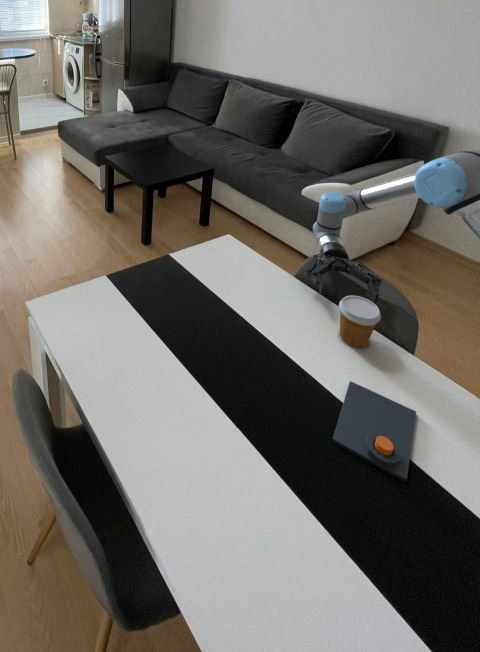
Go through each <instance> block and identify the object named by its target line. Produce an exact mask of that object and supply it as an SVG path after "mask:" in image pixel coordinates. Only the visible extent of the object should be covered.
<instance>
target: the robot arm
mask: <svg viewBox="0 0 480 652" xmlns="http://www.w3.org/2000/svg"><path fill="white" fill-rule="evenodd" d="M416 199H417V200H418V199H421V200H422V201H423V202H424V203H426V204H428V205H429V206H433V207H435V208H441V209H442V211H443V212H444V213H445V214H446V215H447V216H448V217H449V218H453V219H458V220H460V221H461V222H462V223H463V225H464V226H465V227H466V228H467V229H468V231H469V232H470V233H471V234H472V235H473V237H475V239H476V240H477V241H478V242H479V243H480V150H475V149H465V150H460V151H456V152H455V153H452V154H448V155H445V156H442V157H437V158H434V159H432V160H430V161H428V162H426V163H424V164H423V165H422V166H420V167H419V168H418V170H416V171H415V172H413V173H410V174H406V175H403V176H399V177H397V178H393V179H390V180H385V181H383V182H380V183H377V184H376V183H375V184H372V185H369V186H367V187H364V188H358V189H355V190H353V191H350V192H348V193H344V194H341V193H338V192H333V191H332V192H325V193H323V194H322V195H321V197H320V201H319V204H318V212H317V218H316V221H315V222H313V223H314V224H313V225H312V234H313V236H314V239H315V241H316V244H317V248H318V251H319V253H320V257H319V256H318V255H317V254H313V255H312V260H311V262H309V264H308V265H307V267H306V268H305V275H304V276H305V277H306V278H311V281H312V282H313V284H314V285H315V286H317V287H318V292H319V294H320V295H321V296H324V294H325V284H324V281H323V277H322V276H323V275H325V274H326V273H329V272H331V271H333V272H340V273H345V274H347V275H349V276H352V277H354V278H356V279H357V280H359V281H360V282H362V283H364V284H366V285H367V290H368V292H369V294H370V296H371V298H372V302H373V303H374V304H377V303H378V301H379V297H380V294H379V290H380V287H378V286H381V287H382V282H383V279H382V278H381V279H382V280H381V279H379V278H378V277H380V276H379V275H377V273H376V272H374V271H373V270H371V269H370V268H369V267H367V265H365V264H364V263H363V261H362V260H361V259H358V260H357V261H352V260H351V259H350V257H349V254H348V252H347V249H346V247H345V245H344V243H343V240H342V238H341V230H342V226H343V221H344V219H347V218H349V217H352V216H354V215H357V214H360V213H364V212H368V211H371V210H375V209H379V208H384V207H387V206H391V205H392V206H393V205H396V204H400V203H404V202H409V201H412V200H413V201H414V200H416ZM328 255H329V256H328ZM333 256H334V257H333ZM336 257H337V258H336ZM338 257H339V258H338ZM340 258H341V259H340ZM342 259H343V260H342ZM344 260H346V261H344ZM347 261H349V262H351V263H353V264H356V265H358V266H360V267H362V268H364V269H366V270H368V271H370V272H372V273H373V274H375V275H376V276H378V277H376V276H374V275H373V274H372V275H371V274H370V273H368V274H367V273H364V272H362V271H361V270H363V269H361V270H359V269H357V268H359V267H357V266H356V267H357V268H356V267H355V265H353V264H351V263H349V262H347ZM320 263H322V264H321V265H320V266H318V267H317V265H319V264H320ZM348 270H349V271H348Z"/></svg>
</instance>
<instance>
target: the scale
mask: <svg viewBox="0 0 480 652" xmlns="http://www.w3.org/2000/svg"><path fill="white" fill-rule="evenodd" d="M345 393H346V394H345V396H344V399H343V403H342V406H341V410H340V413H339V417H338V420H337V423H336V426H335V430H334V433H333V437H332V440H331V441H332V443H334V444H336V445H338V446H340V447H342V448H343V449H345V450H347V451H349V452H350V453H352V454H353V455H356V456H357V457H359V458H361V459H363V460H365V461H366V462H368V463H370V464H372V465H374V466H376V467H377V468H379V469H381V470H383V471H384V472H386V473H389V474H390V475H392V476H394V477H396V478H398V479H399V480H400V481H403V482H405V483H407V480H408V477H409V476H408V475H409V468H410V460H411V453H412V447H413V439H414V431H415V424H416V417H417V411H416V410H414V409H411V408H410V407H407V406H405V405H403V404H401V403H399V402H396V401H395V400H392V399H390V398H388V397H386V396H383V395H381V394H379V393H377V392H375V391H373V390H371V389H369V388H367V387H365V386H362V385H360V384H358V383H356V382H353V381H352V380H350V381H349V383H348V387H347V390H346V392H345ZM378 436H383V437H386V438H388V439H389V440H390V441H391V442H392V443H393V446H394V449H393V452H392V454H391V455H390V456H384V455H382V454H381V453H379V452H378V451H377V450H376V448H375V441H376V438H377V437H378Z"/></svg>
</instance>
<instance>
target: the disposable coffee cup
mask: <svg viewBox="0 0 480 652" xmlns="http://www.w3.org/2000/svg"><path fill="white" fill-rule="evenodd" d="M338 308H339V311H340V312H339V337H340V339H341V340H342V341H343V342H344V343H345V344H347V345H349V346H351V347H354V348H364V347H366V346H367V345H368V343H369V340H370V338H371V337H372V335H373V332H374V330H375V328H376V326H377V324H378V323H379V322H380V321H381V319H382V314H381V312H380V309H379V307H378V305H377V304H376V303H375V302H374V301H372V300H370V299H368V298H366V297H363V296H359V295H346V296H344V297H343V298H341V300H340V301H339V303H338Z"/></svg>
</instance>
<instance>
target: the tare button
mask: <svg viewBox="0 0 480 652" xmlns="http://www.w3.org/2000/svg"><path fill="white" fill-rule="evenodd" d="M375 448H376V450H377V451H378V452H379V453H381V454H382V455H384V456H390V455H391V454H392V452H393V449H394V446H393V443H392V442H391V441H390V440H389V439H388V438H386V437H383V436H378V437H377V438H376V441H375Z"/></svg>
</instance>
